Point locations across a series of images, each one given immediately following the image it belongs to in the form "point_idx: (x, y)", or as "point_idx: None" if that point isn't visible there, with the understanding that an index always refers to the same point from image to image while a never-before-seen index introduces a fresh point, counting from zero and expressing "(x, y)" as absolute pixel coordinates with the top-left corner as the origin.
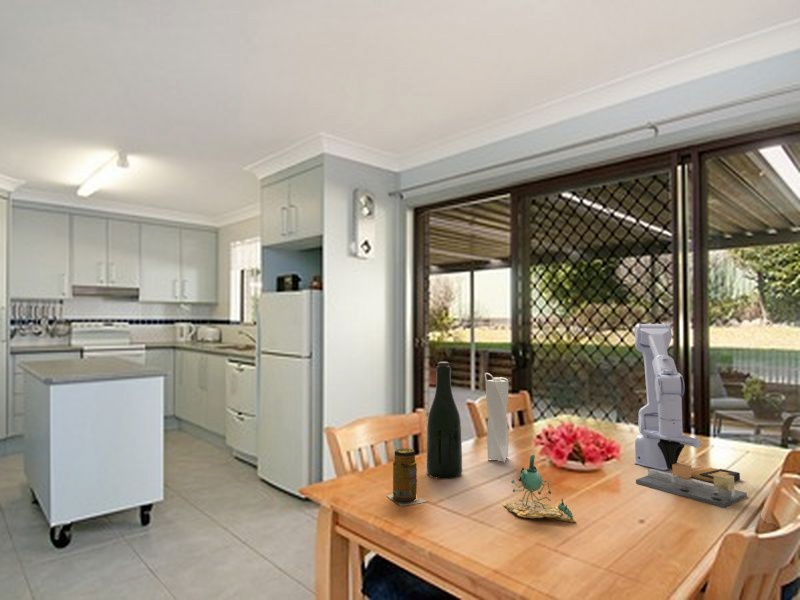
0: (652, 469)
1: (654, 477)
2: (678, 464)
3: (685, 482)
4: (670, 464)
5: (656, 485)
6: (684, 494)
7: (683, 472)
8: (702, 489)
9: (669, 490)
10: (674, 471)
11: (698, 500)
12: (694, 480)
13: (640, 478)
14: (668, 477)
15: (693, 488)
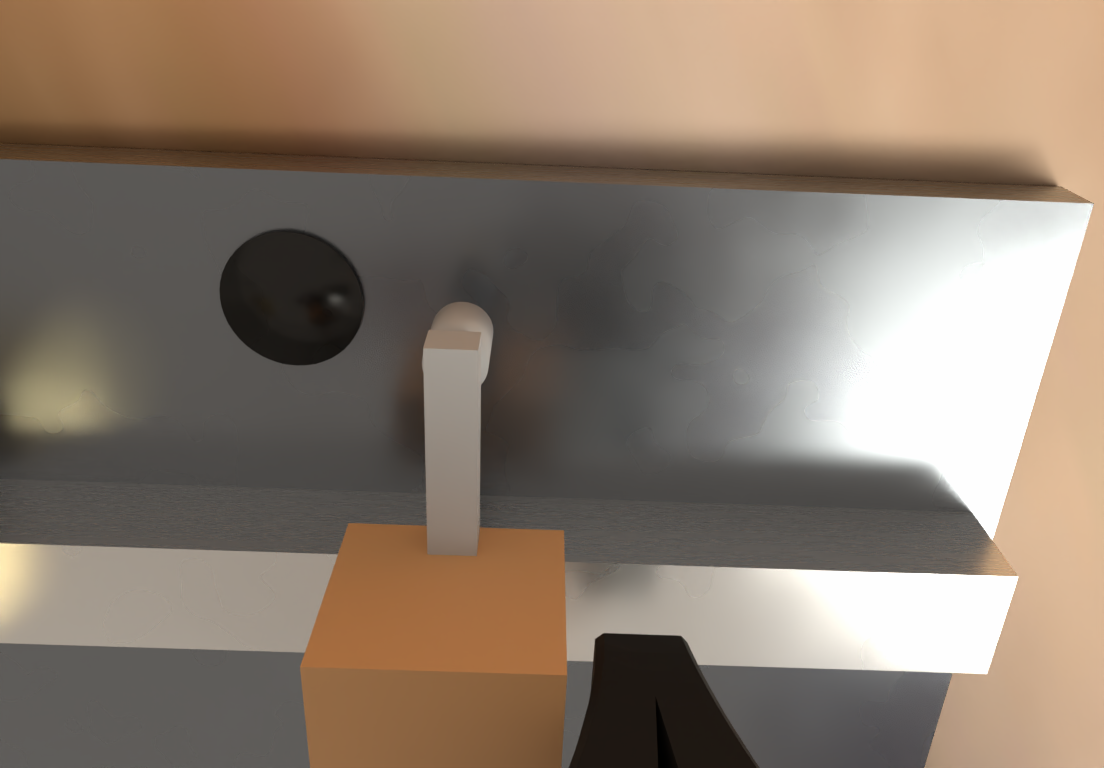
0: (964, 642)
1: (872, 511)
2: (488, 759)
3: (381, 523)
4: (619, 688)
5: (708, 189)
6: (225, 158)
7: (348, 591)
8: (137, 490)
9: (477, 168)
10: (524, 582)
11: (22, 146)
12: (256, 596)
13: (1040, 318)
14: (655, 540)
15: (266, 475)
